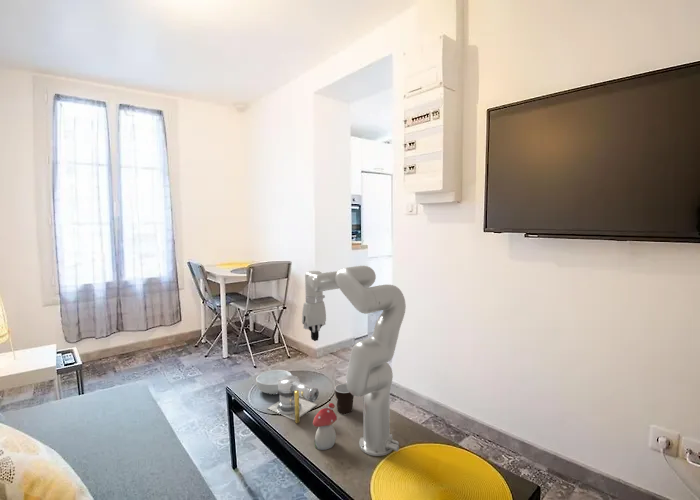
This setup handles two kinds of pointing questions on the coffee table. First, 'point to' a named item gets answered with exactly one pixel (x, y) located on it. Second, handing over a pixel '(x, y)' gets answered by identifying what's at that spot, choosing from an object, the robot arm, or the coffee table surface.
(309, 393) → the elbow
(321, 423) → the decorative ornament
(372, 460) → the coffee table surface
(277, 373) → the cereal bowl
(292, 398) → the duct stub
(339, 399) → the coffee mug
